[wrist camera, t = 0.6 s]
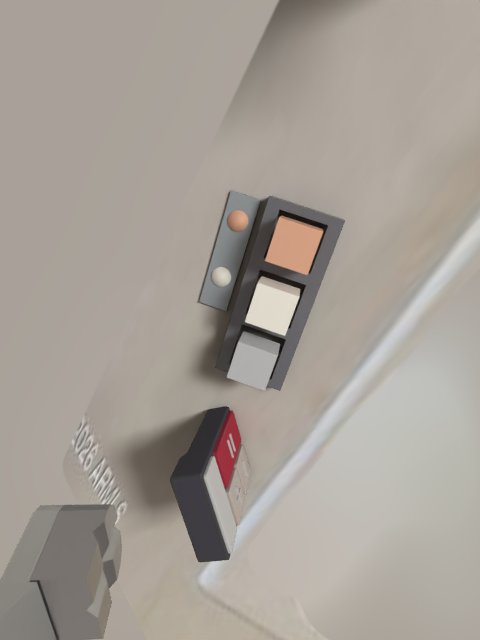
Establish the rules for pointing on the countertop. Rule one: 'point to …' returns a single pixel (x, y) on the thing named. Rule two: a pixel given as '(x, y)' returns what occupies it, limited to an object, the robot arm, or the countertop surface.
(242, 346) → the grey key
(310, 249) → the terracotta key
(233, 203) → the card
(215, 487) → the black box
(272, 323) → the cream key
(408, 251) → the countertop surface
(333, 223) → the keyguard frame
